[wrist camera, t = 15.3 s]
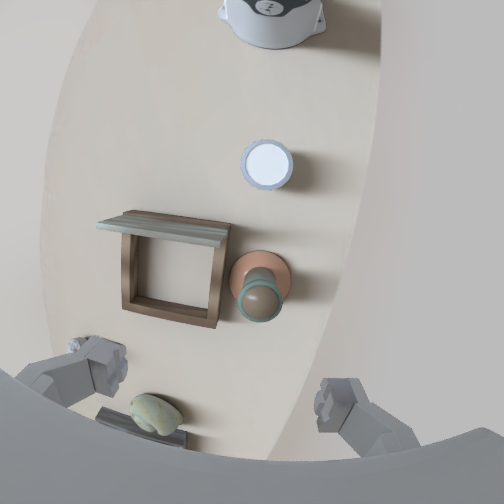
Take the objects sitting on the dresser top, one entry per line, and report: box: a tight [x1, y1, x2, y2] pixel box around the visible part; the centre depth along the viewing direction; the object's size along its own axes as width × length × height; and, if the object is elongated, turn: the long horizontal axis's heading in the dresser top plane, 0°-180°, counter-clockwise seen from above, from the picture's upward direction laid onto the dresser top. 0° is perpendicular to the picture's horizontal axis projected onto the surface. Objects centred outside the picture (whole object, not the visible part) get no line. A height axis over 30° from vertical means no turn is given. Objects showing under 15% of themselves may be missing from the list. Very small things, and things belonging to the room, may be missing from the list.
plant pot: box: [238, 267, 283, 322], centre depth 40 cm, size 6×6×8 cm
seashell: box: [129, 394, 183, 436], centre depth 50 cm, size 13×8×10 cm
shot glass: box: [241, 139, 293, 190], centre depth 37 cm, size 7×7×7 cm
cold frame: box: [96, 210, 231, 329], centre depth 39 cm, size 17×17×12 cm
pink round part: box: [229, 250, 291, 301], centre depth 44 cm, size 10×10×1 cm
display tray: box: [95, 407, 187, 449], centre depth 56 cm, size 24×24×5 cm
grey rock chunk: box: [68, 337, 87, 354], centre depth 47 cm, size 6×7×7 cm
